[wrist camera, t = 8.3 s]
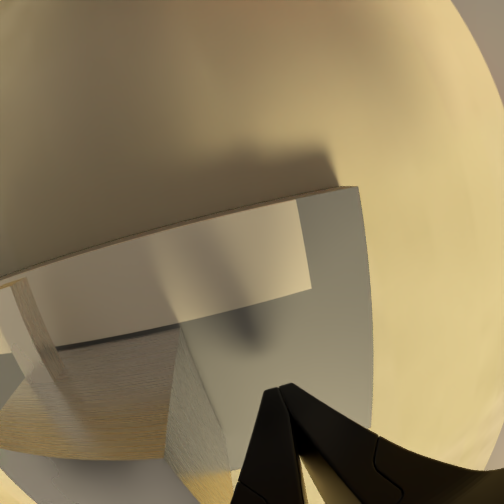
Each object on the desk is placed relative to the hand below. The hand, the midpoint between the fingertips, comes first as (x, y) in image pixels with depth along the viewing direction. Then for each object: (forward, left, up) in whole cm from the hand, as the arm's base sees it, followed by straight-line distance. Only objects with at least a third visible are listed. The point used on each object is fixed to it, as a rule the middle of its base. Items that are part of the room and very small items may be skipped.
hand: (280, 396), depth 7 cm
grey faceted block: (+1, +5, -1) cm, 5 cm away
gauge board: (0, +11, -2) cm, 12 cm away
